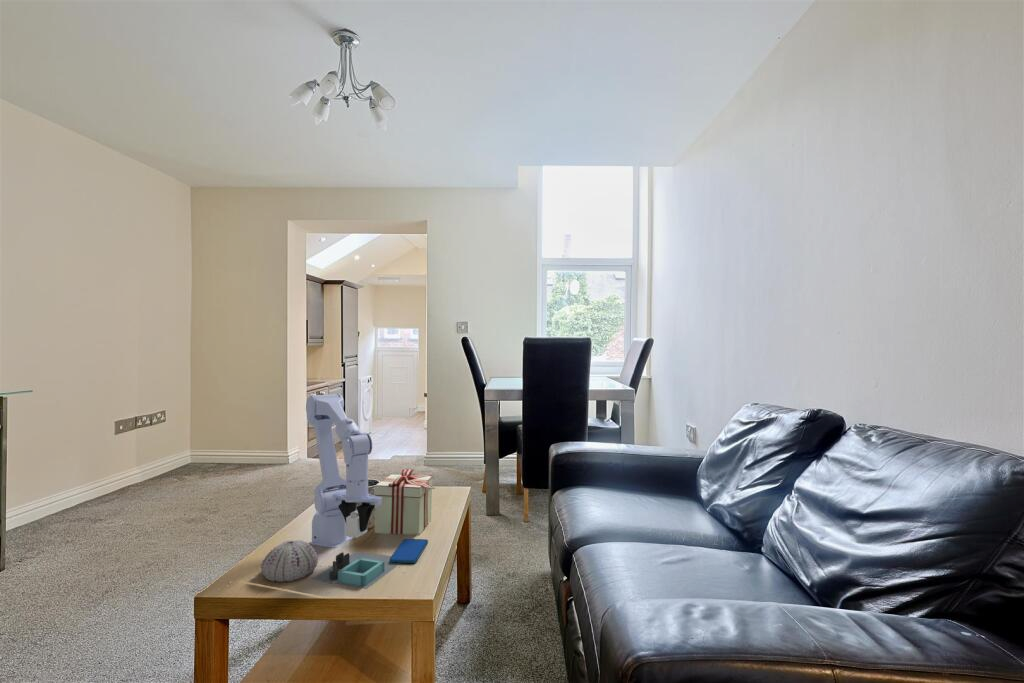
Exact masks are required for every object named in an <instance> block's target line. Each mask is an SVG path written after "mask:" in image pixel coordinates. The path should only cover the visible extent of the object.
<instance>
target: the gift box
mask: <svg viewBox="0 0 1024 683" xmlns="http://www.w3.org/2000/svg"><path fill="white" fill-rule="evenodd" d="M414 471H415V469H402V470H401V473H400V474H390V475H388V476H387V477H385V478H384V479H382V480H380V481H379V482H378V483H377V484H375V485H374V488H373V495H374V496H378V497H382V504H381V505H380V506H375V507H374V533H375V534H389V535H390V534H391V535H410V536H411V535H413V536H420V535H421V534H422V532H423V531H424V530H425V529H426V528H425V527H427V526H428V525H429V524H430V523H431V521H432V497H433V496H432V494H433V493H432V492H433V491H432V490H434V489H436V488H435V487H433V486H434V475H433V474H420V473H419V474H412V473H413V472H414ZM429 522H430V523H429Z"/></svg>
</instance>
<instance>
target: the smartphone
mask: <svg viewBox="0 0 1024 683" xmlns="http://www.w3.org/2000/svg"><path fill="white" fill-rule="evenodd" d="M428 544H429V540H428V539H426V538H425V539H423V538H422V539H421V538H419V539H418V538H405V539H403V540H402V541H401V543H400V544H399V545H398V546H397V548H396V549H395V551H394V552H393V553H392V555H390V556H391V557H390V562H399V563H400V564H402V563H403V564H405V563H406V564H407V563H408V564H414V563H415V564H416V563H417V562H418V560H419V559H420V557H421V555H422V553H423V551H424V550H425V548H426V547H427V545H428Z"/></svg>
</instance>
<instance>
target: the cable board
mask: <svg viewBox="0 0 1024 683" xmlns="http://www.w3.org/2000/svg"><path fill="white" fill-rule="evenodd" d="M391 556H392V555H386V554H385V555H384V554H381V553H379V554H378V553H372V552H366V551H359V550H356V551H355V552H352V553H351V554H350V553H349V552H348V553H347V552H346V553H344V552H339V554H337V555H335V560H333V561H332V565H331V566H330V567H329V568H327V569H325V570H324V571H322V572H320V573H318V574H317V575H315V576H314V577H312V578H311V580H314V581H320V582H325V583H330V584H337V585H341V586H347V587H354V588H359V589H363V590H367V589H369V588H370V587H371V586H373V585H374V584H376V583H377V582H378V581H379V580H381V579H382V578H383V577H385V576H386V575H387V574H389V573H390V572H391V571H393V570H394V569H395V568H397V567H398V566H399V565H400V564H401V563H399V562H390V557H391Z"/></svg>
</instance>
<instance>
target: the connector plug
mask: <svg viewBox="0 0 1024 683" xmlns="http://www.w3.org/2000/svg"><path fill="white" fill-rule="evenodd" d="M366 533H368V529H367V530H365V531H363V532H360V528H359V515H358V511H357V509H356V510H355V511H354V512H352V513H350V516H348V517H346V536H348V537H353V538H356V539H358V538H359V537H361V536H363V535H365V534H366Z"/></svg>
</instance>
